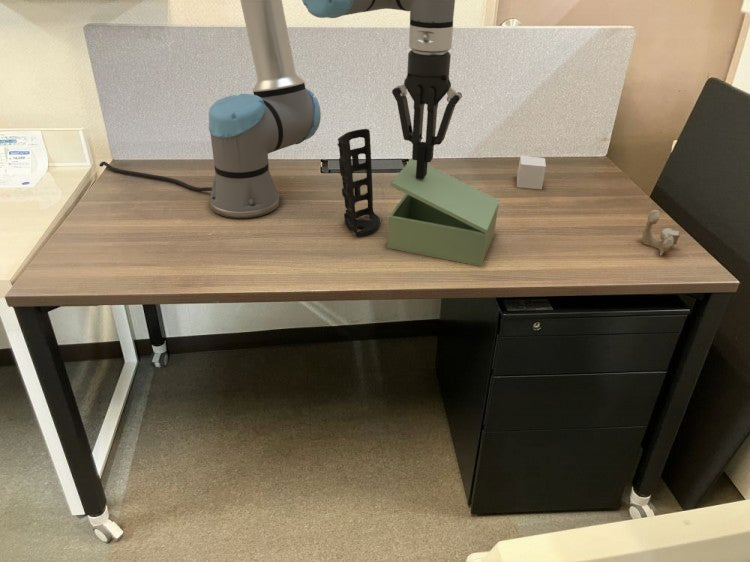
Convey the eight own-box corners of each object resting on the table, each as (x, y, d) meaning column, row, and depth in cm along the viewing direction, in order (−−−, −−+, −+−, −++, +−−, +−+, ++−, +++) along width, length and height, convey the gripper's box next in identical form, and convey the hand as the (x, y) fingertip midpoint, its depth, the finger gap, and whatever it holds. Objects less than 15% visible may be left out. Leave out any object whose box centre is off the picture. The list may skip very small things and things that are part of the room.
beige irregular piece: (696, 251, 120) (683, 213, 116) (667, 268, 121) (653, 230, 116) (670, 234, 128) (657, 197, 123) (643, 250, 129) (629, 213, 124)
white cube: (516, 178, 155) (520, 155, 151) (540, 180, 154) (544, 157, 151) (517, 187, 150) (520, 164, 146) (541, 189, 149) (546, 166, 146)
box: (387, 248, 122) (388, 216, 118) (407, 218, 133) (409, 189, 129) (481, 266, 116) (485, 233, 113) (494, 234, 128) (498, 204, 124)
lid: (389, 185, 114) (391, 182, 114) (411, 160, 126) (412, 157, 125) (485, 233, 113) (487, 230, 112) (498, 203, 124) (499, 200, 124)
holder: (375, 238, 124) (368, 144, 114) (339, 238, 126) (329, 144, 115) (383, 216, 133) (377, 127, 123) (350, 215, 135) (341, 127, 125)
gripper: (387, 51, 105) (383, 178, 118) (461, 58, 102) (449, 188, 114) (400, 43, 111) (395, 165, 124) (470, 50, 108) (457, 174, 120)
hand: (421, 176), depth 119 cm, fingers closed
